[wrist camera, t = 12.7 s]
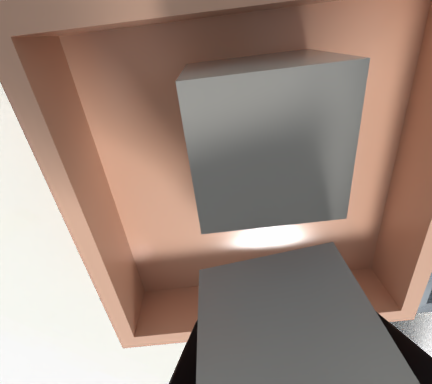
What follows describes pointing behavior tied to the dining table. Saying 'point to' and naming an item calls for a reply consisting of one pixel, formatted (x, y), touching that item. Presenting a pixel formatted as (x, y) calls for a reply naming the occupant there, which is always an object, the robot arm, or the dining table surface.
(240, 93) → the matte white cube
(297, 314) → the grey cube
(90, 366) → the dining table surface
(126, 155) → the dish
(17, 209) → the dining table surface
